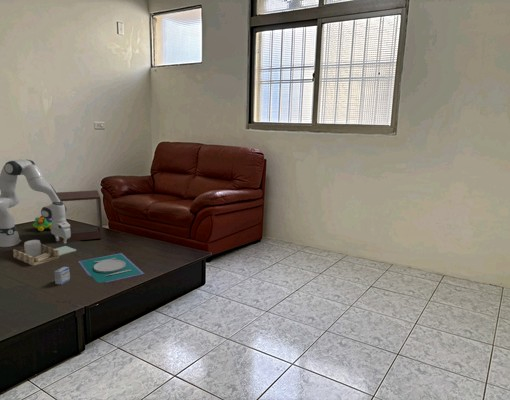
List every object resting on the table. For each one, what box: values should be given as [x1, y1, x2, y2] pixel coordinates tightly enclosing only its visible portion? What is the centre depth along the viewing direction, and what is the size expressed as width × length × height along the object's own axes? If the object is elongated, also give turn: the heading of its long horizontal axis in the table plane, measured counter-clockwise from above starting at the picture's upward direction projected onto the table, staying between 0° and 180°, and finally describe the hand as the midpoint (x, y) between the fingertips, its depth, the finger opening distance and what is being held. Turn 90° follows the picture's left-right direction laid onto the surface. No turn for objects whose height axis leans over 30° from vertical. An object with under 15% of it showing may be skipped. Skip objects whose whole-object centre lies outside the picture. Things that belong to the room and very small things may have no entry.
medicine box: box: [53, 266, 71, 286], centre depth 230 cm, size 8×4×9 cm, turn 170°
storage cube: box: [51, 189, 104, 244], centre depth 316 cm, size 35×29×35 cm
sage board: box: [55, 245, 77, 257], centre depth 282 cm, size 14×14×1 cm
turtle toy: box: [32, 215, 53, 232], centre depth 336 cm, size 17×23×12 cm
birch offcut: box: [34, 253, 50, 261], centre depth 264 cm, size 4×10×2 cm, turn 163°
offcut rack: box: [12, 243, 60, 266], centre depth 268 cm, size 26×18×6 cm
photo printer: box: [23, 239, 43, 258], centre depth 269 cm, size 10×4×12 cm, turn 130°
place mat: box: [77, 252, 145, 284], centre depth 256 cm, size 45×30×2 cm
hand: (61, 241), depth 280 cm, fingers open, 8 cm apart
